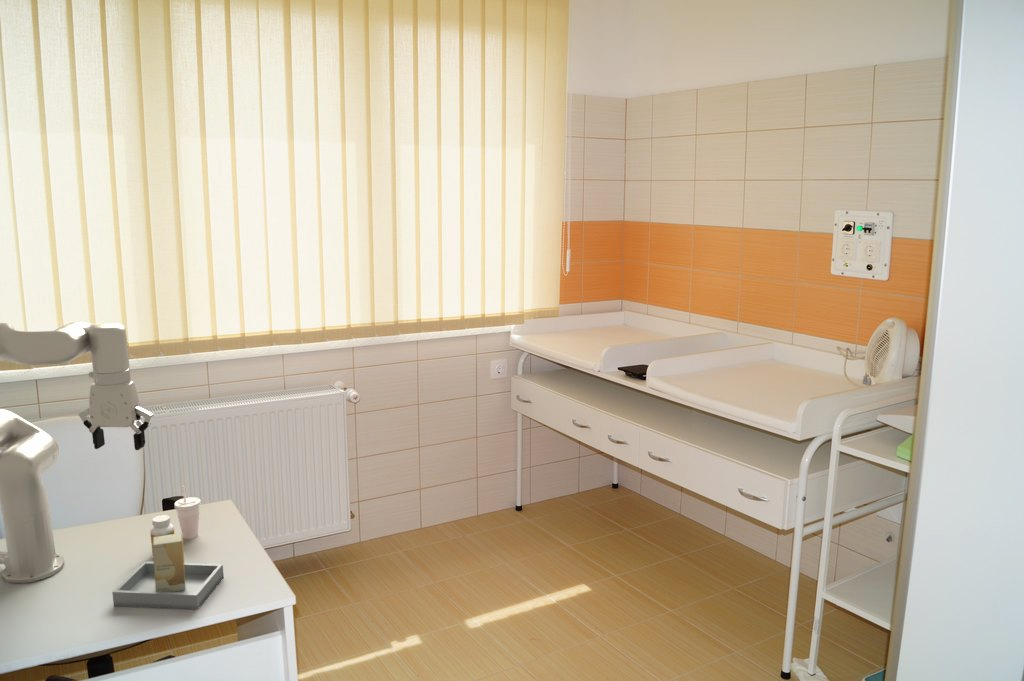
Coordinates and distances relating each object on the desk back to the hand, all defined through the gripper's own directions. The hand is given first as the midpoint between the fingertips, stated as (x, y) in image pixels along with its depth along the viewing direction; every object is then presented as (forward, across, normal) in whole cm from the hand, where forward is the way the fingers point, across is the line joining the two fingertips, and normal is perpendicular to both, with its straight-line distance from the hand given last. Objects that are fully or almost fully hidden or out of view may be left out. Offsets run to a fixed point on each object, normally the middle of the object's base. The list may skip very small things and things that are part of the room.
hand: (119, 447), depth 183 cm
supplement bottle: (+31, +5, +6) cm, 31 cm away
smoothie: (+31, +7, +16) cm, 35 cm away
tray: (+30, +15, -11) cm, 36 cm away
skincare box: (+30, +15, -11) cm, 35 cm away
